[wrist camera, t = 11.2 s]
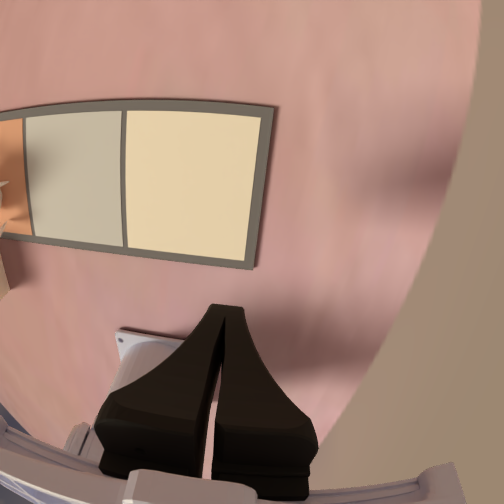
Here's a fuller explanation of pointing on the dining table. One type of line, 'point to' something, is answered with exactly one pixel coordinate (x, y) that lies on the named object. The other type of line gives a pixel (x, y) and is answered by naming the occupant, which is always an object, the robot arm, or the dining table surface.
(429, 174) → the dining table surface
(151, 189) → the game mat
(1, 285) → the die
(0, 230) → the rocket toy
